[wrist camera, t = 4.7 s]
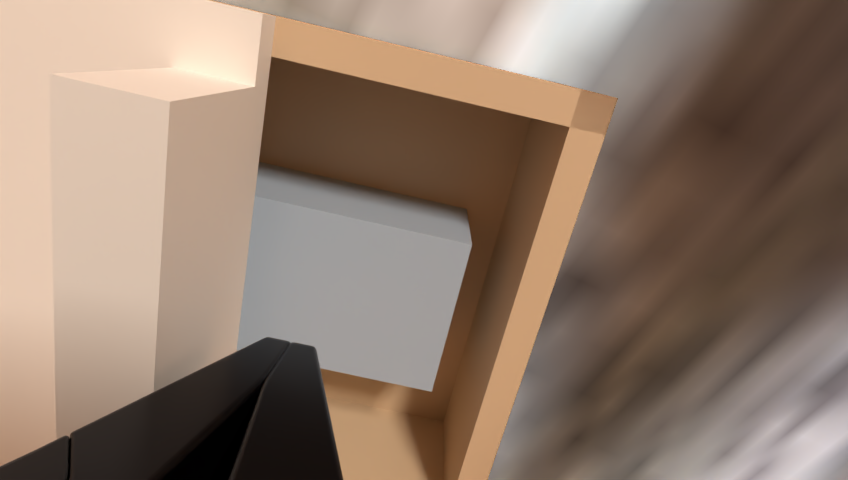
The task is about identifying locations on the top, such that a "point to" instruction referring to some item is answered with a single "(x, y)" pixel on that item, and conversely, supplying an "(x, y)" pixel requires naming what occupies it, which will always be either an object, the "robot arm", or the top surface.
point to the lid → (121, 200)
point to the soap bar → (353, 274)
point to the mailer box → (449, 184)
